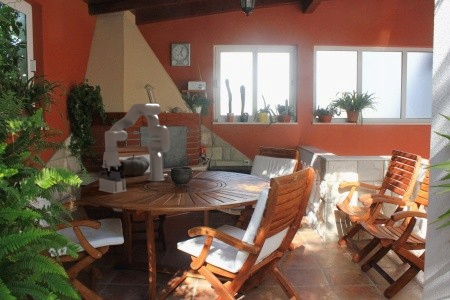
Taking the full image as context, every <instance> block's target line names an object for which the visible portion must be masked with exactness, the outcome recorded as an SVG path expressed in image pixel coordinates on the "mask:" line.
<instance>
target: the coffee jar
mask: <svg viewBox="0 0 450 300" xmlns="http://www.w3.org/2000/svg"><path fill="white" fill-rule="evenodd" d="M124 160H125V159H121V158H119V162H120V163H121V166H120V167H119V168H118V170H117V172H120V179H126V175H124V163H123V162H124ZM110 171H114V166H110Z"/></svg>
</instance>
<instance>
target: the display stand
mask: <svg viewBox="0 0 450 300" xmlns="http://www.w3.org/2000/svg"><path fill="white" fill-rule="evenodd" d="M98 180H99V182H98V183H99V188H98V191H101V192H105V193H109V194H119V193H124V192H127V190H128V189H127V188H126V187H127V186H126V185H127V184H126V181H127V180H126V178H125V179H120V182H115V181H111V180H106V179H105V178H99V179H98Z"/></svg>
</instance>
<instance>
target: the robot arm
mask: <svg viewBox="0 0 450 300" xmlns="http://www.w3.org/2000/svg"><path fill="white" fill-rule="evenodd" d="M161 108H162V107H161V105H160V104H158V103H145V102H143V103H134V104H133V105H132V106H131V107H130V108H129V109H128V111H127V113H126V114H125V115H124V117H123V118H121V119H119V120H118V121H116V122H115V123H114V124H113V125H112V126H111V127H110V129H109V130H107V131H104V144H105V145H104V148H105V151H104V152H103V157H102V158H103V159H102V160H103V161H102V162H103V163H102V165H101V167H102V169H104V171H107V177H110V174H111V173H110V166H114V172H117V170H118V168H119V167H120V166H121V163H120V162H119V159H120V155H119V152H118V149H119V147H118V143H117V142H124V141H126V140H127V139H128V133H127V131H126V130H124V129H128V128H129V127H130V128H131V127H133V126H134V125H135V124H136V122H137V121H138V119H139V118H140V117H141V116H144V117H145V118H146V120H147V127H148V128H147V129H148V136H149V137H150V138H153V139H150V140H149V141H148V142H147V149H148V153H149V163H150V165H149V178H148V179H147V180H148V181H149V182H162V181H165V178H166V177H168V173H163V156H162V153H167V152H169V151H170V149H171V148H170V147H171V143H170V142H171V141H170V140H171V139H170V131H169V129H168V127H167V126H166V125H160V119H159V117H158V115H160V114H161V111H162V109H161ZM164 177H165V178H164Z"/></svg>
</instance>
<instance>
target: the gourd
mask: <svg viewBox="0 0 450 300" xmlns="http://www.w3.org/2000/svg"><path fill="white" fill-rule="evenodd" d="M123 160H124V162H123V163H124V176H129V177H130V176H131V177H132V176H141V175H143V174H145V173H146V172H147V171H148V170H149V169H150V159H148V158H147V157H145V156H143V155H141V156H140V155H139V156H135V154H133V155H132V156H130V157H127V158H126V159H123Z"/></svg>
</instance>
